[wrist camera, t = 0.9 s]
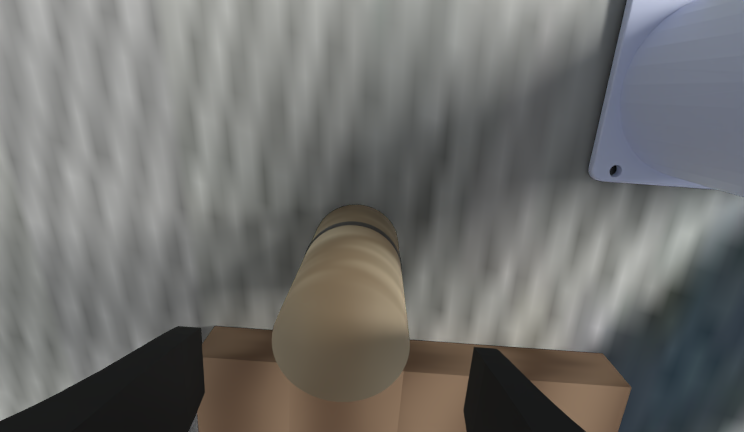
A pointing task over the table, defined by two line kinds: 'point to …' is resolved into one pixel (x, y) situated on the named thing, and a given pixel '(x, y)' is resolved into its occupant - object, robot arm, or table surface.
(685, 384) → the table surface
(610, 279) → the table surface
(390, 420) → the walnut board
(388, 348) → the beech peg
